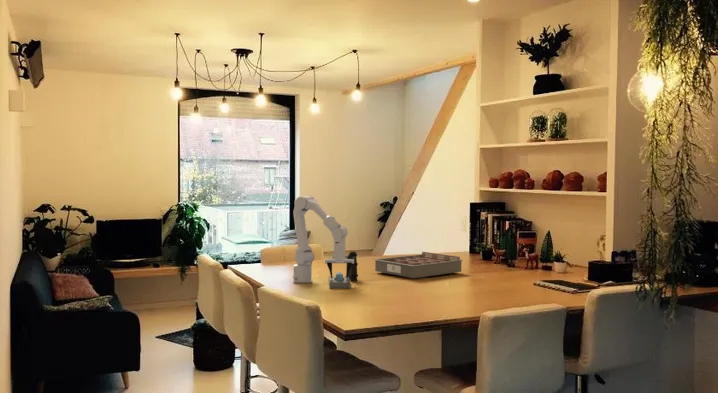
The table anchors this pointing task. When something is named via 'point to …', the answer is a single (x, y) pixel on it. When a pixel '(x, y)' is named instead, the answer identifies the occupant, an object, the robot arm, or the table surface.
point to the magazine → (353, 267)
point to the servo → (339, 276)
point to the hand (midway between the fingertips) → (339, 277)
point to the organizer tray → (419, 265)
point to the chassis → (339, 283)
